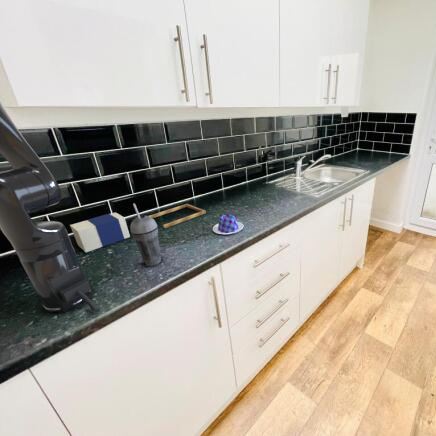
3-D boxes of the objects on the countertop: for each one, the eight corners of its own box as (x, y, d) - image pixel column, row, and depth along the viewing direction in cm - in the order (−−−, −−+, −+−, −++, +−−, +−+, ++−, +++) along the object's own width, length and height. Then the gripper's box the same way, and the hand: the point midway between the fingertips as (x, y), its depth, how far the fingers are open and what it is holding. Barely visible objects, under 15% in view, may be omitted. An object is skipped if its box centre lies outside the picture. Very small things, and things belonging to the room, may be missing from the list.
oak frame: (164, 228, 102) (164, 225, 102) (146, 219, 111) (146, 216, 110) (206, 213, 116) (205, 210, 116) (187, 206, 125) (187, 203, 124)
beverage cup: (170, 257, 83) (157, 199, 75) (155, 269, 77) (138, 208, 68) (151, 254, 85) (136, 197, 76) (134, 266, 78) (115, 206, 70)
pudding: (249, 230, 101) (248, 217, 98) (220, 239, 94) (218, 226, 92) (235, 220, 109) (234, 208, 107) (208, 227, 103) (206, 215, 101)
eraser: (86, 252, 86) (77, 231, 82) (77, 245, 90) (69, 224, 87) (130, 236, 96) (124, 217, 93) (121, 230, 101) (115, 211, 97)
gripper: (-87, 140, 55) (7, 188, 66) (-63, 130, 64) (15, 173, 76) (-119, 165, 53) (-18, 210, 65) (-90, 151, 63) (-7, 192, 75)
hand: (0, 190), depth 70 cm, fingers open, 8 cm apart
